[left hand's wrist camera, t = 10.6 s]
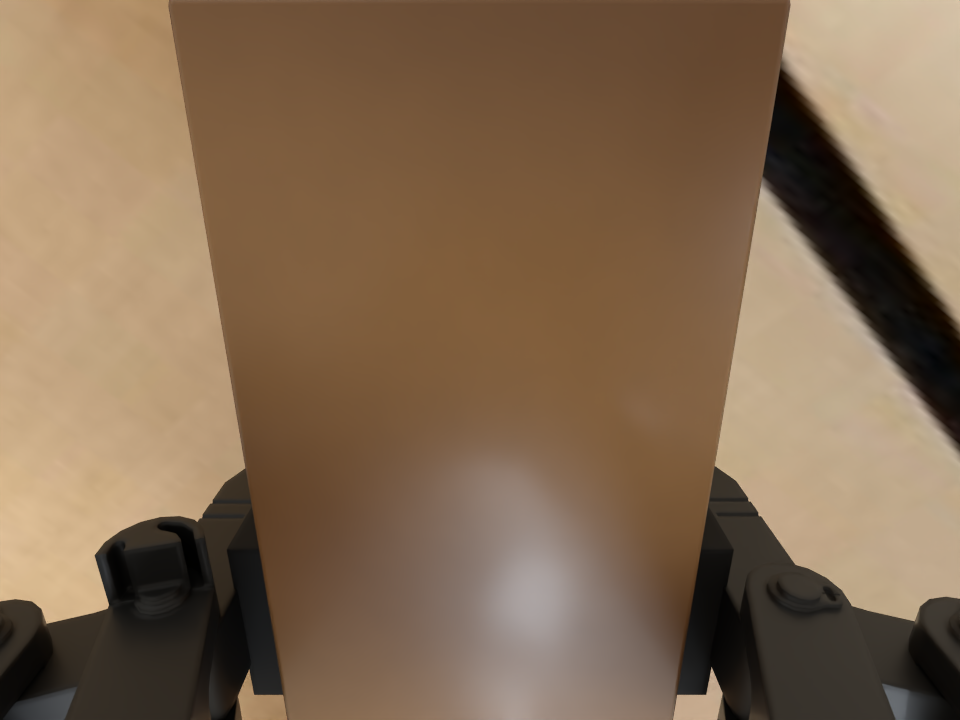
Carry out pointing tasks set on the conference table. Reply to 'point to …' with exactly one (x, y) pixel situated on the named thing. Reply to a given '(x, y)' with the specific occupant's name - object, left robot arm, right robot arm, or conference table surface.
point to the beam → (479, 331)
